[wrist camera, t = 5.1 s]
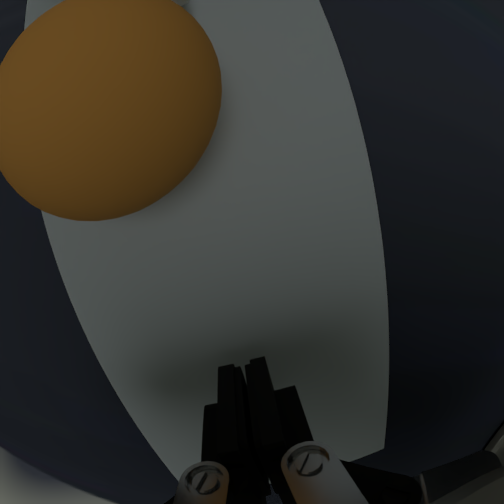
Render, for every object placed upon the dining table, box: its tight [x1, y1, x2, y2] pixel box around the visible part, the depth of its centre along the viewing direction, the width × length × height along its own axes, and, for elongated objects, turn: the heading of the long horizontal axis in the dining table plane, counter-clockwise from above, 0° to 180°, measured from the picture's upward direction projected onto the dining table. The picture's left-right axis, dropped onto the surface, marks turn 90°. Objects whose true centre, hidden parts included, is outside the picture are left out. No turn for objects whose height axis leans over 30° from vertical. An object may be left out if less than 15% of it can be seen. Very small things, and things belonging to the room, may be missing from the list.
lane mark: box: [24, 0, 389, 484], centre depth 10 cm, size 31×12×1 cm, turn 14°
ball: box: [0, 0, 222, 221], centre depth 6 cm, size 6×6×6 cm
